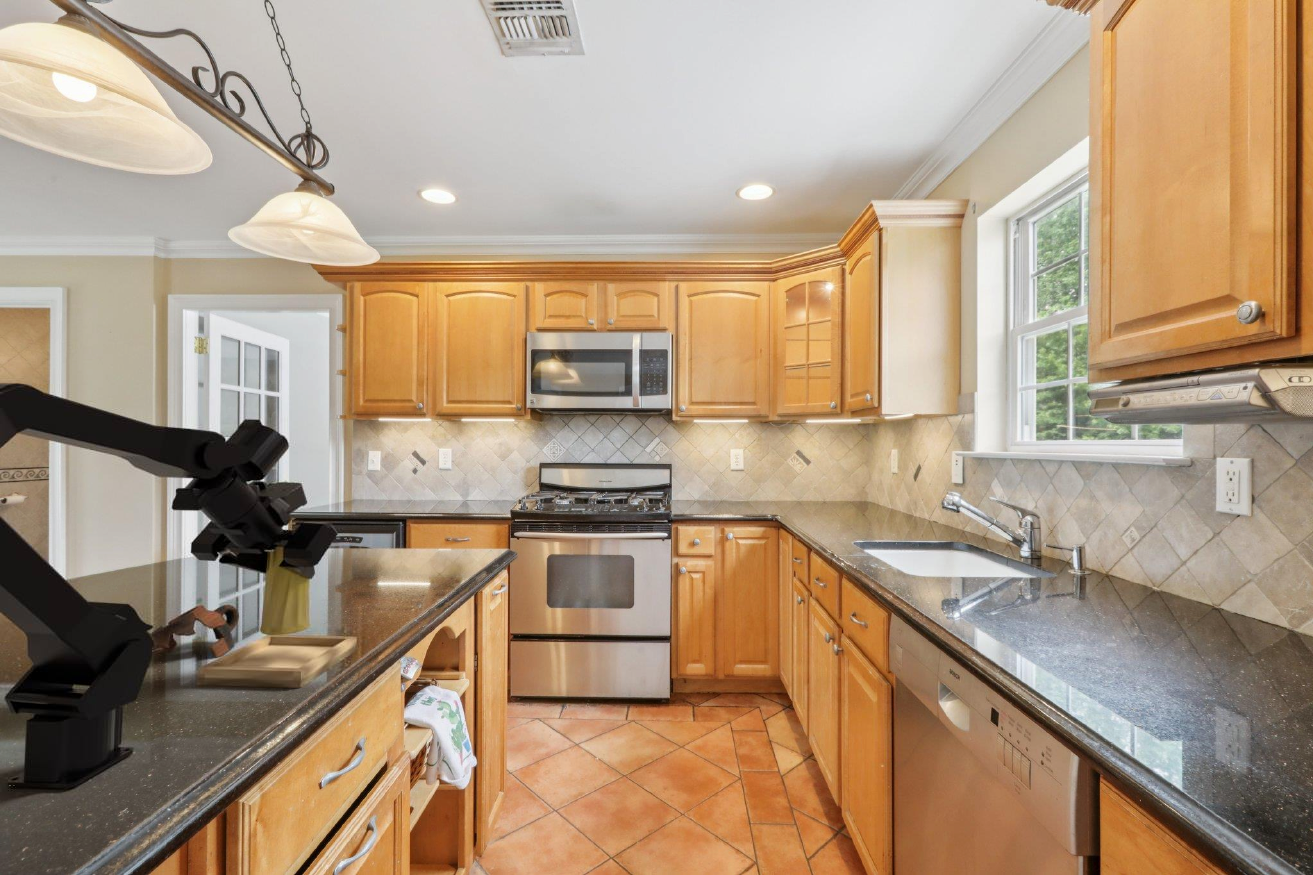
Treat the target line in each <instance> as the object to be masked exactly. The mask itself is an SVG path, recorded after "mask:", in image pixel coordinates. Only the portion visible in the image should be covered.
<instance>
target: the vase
mask: <svg viewBox="0 0 1313 875" xmlns="http://www.w3.org/2000/svg"><path fill="white" fill-rule="evenodd" d="M294 529H295V528H294ZM294 529H293V528H292V529H290V530H294ZM283 548H284V547H277V548H276V549H275V551H273V552H271V551H268V554H267V569H266V574H265V583H264V590H263V592H264V594H263V603H262V611H261V613H262V615H261V624H260V629H259V630H260V633H261V634H263V635H265V636H267V635H292V634H295V633H299V632H303V631H305V630H307V629H308V628H309V627H310V625H311V623H310V622H311V621H310V580H311V579H307V578H305V577H302V576H300V575H297V574H295V573H293V572H290V571H288V570H285V569H283V568H281V567H279V565H280V563H281V562H282V561H283Z"/></svg>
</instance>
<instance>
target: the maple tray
mask: <svg viewBox="0 0 1313 875" xmlns="http://www.w3.org/2000/svg"><path fill="white" fill-rule="evenodd" d="M357 638H358V637H357V636H345V635H344V636H343V635H342V636H341V635H340V636H339V635H337V636H336V635H333V636H332V635H306V634H301V635H299V634H285V635H265V636H263V637H261V638H259V639H257V640H253V641H252V642H251V643H248V644H246V645H244V646H242V647H240V648H237V649H236V650H233V651H231V652H229V653H227V654H224V655H222V656H220V657H219V658H216V659H214V660H213V661H211V662H208V663H206V664H205V665H202V666H200V667H198V668H197V679H196V680H197V681H196V682H197V683H196V685H197V686H219V687H220V686H223V687H254V688H255V687H256V688H257V687H258V688H259V687H261V688H265V687H267V688H295V689H296V688H298V689H300V688H302V687H305V686H306V685H308V684H309V683H310V682H311V681H313V680H314V679H316V678H318V677H319V676H321V675H322V674H323V673H325V672H327V671H329V669H331V668H333V667H334V666H335V665H338V663H340V662H341V661H344V659H346V658H348V657H349V656H351V655H352V654H354V653H355V652H356V651H357V642H358V641H357Z"/></svg>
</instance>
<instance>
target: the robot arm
mask: <svg viewBox="0 0 1313 875" xmlns="http://www.w3.org/2000/svg"><path fill="white" fill-rule="evenodd" d="M17 434H19V435H23V436H29V437H33V438H37V439H42V440H46V441H51V442H56V443H58V444H59V443H60V444H63V445H66V446H67V445H68V446H71V447H77V448H80V449H85V450H90V451H93V452H94V451H95V452H99V453H103V454H107V455H112V456H116V457H118V458H121V459H123V460H125V461H127V462H129V464H131V465H132V466H133V467H134V468H136V469H139V470H141V471H144V472H146V473H148V474H150V475H154V476H156V477H159V478H174V479H175V478H176V479H192V480H190V482H188V483H187V485H186V486H185V487H177V488H176V489H175V497H174V498H173V499H172V504H171V510H173V511H185V512H186V511H190V512H193V511H195V512H197V511H201V512H202V513H203V514H204V515H205V516H206V518H208V519H209V520H210V521H209V522H208V523H207V524H206V526H205V527H203V529H202V530H201V532H200V533H198V535H197V536H196V537H195V538H194V540H192V542H191V543H190V553H191V554H192V555H193V556H194V557H195V558H196V559H197V560H198V561H203V562H204V561H206V562H215V561H216V560H218V563H220V564H222V565H229V566H232V567H236V568H240V569H245V570H247V571H252V572H255V573H260V574H264V575H266V569H267V554H268V551H271V552H273V551H275V549H276V548H277V547H284V548H283V561H282V562H281V563H280V565H279V567H281V568H283V569H285V570H288V571H290V572H293V573H295V574H297V575H300V576H302V577H305V578H307V579H310V580H312V579H313V577H314V576H315V575H316V570H315V566H317V565H319V563H320V561H321V560H322V559H323V556H324V555H325V554H326V552H327V551H328V549H329V547H331V545H332V543H333V542H334V541H335V539H336V538H337V536H338V531H337V530H336V529H335V527H334V526H333V524H332V523H331V522H321V521H305V522H301V523H300V525H298V526H297V527H296V528H294V530H291V529H284V528H283V527H284V526H288V525H289V523H290V522H291V521H292V520H293V519H292V517H291V516H290V514H293V513H294V512H295V511H297V510H298V509H299V508H301V507H304V506H306V505H307V504H308V500H307V496H306V493H305V490H304V487H303V484H302V483H301V482H287V481H286V482H285V481H280V482H278V481H277V482H276V483H275V482H274V483H273V482H269V483H267V482H266V481H264V480H263V479H265V478H266V477H267V475H268V474H269V473H270V472H271V471H272V469H273V468H274V467H275V466H276V465H277V463H278V462H279V461H280V460H281V458H282V457H283V456H284V455H285V453H286V452H287V451H288V450H289V447H290V445H289V444H290V442H289V441H288V439H287V438H286V436H285V435H283V434H281V433H280V432H279V431H277V430H276V429H273V428H272V427H269V426H266V425H264V424H263V423H262V421H261V420H260V419H254V418H253V419H250V418H249V419H247V418H245V419H244V420H242V422H241V423H240V424H239V426H238V427H237V429H236V430H235V432H233V433H232V434H231V436H230V437H229V438H228V439H226V437H225V436H224V435H223V434H220V433H218V432H216V431H214V430H203V429H197V428H196V429H195V428H188V427H187V428H185V427H173V426H164V425H154V424H151V423H148V422H143V421H141V420H137V419H134V418H131V417H127V416H125V415H121V414H118V413H114V412H111V411H107V410H104V409H102V408H98V407H94V406H90V405H87V404H84V403H80V402H77V401H74V400H70V399H68V398H65V397H60V396H57V395H54V394H50V393H47V392H44V391H42V390H39V389H38V388H35V387H34V386H32V385H29V384H26V383H18V382H0V449H2V447H4V446H5V445H6V444H7V443H9V441H11V440H12V439H13V438H15V437H16V435H17ZM262 480H263V481H262ZM248 482H250V483H248ZM219 556H221V557H220V558H219ZM218 558H219V559H218ZM0 614H2V615H3V616H4V617H5V618H7V619H8V620H9V621H10V622H11V623H12V624H13V625H15V626H16V627H17V628H18V629H19V630H21V632H23V633H24V634H25V636H26V639H27V640H26V641H27V657H28V658H29V659H30V661H31V663H32V664H33V665H31V666H30V668H28V670H27V671H26V672H25V673H24V675H23V676H21V678H20V679H19V680H18V681H17V682H16V683H15V684H14V686H12V687H11V689H10V690H9V691H8V692H7V693H6V694H5V696H4V701H5V703H6V704H7V707H8V709H9V711H10V714H12V715H13V714H14V715H19V714H26V715H33V717H31V718H28V719H27V720H26V722H25V742H24V744H25V745H24V760H23V761H24V763H23V765H24V766H23V768H24V769H23V771H22V772H20V773H19V774H17V775H15V776H13V777H10V778H9V779H7V781H6V787H9V785H11V786H13V785H14V786H23V787H22V788H42V789H43V788H48V789H50V788H51V789H70V788H74V787H76V786H79V785H80V784H83V783H84V782H86V781H87V780H90V779H91V778H93V777H94V776H96V775H98V774H100V773H102V772H103V771H105V770H106V769H108V768H110V767H112V766H113V765H115V764H117V763H118V762H120V761H122V760H124V759H125V758H127V757H129V756H130V755H132V754H133V753H134V749H135V748H134V747H132V746H129V747H128V746H127V747H126V746H121V745H122V739H123V738H122V736H123V715H124V714H123V712H124V708H123V706H125V705H128V704H130V703H133V702H135V701H136V700H137V699H138V698H139V695H140V691H141V688H142V686H143V683H144V680H145V677H146V674H147V671H148V669H149V665H150V663H151V660H152V657H153V650H152V649H153V648H154V647H155V643H154V639H153V637H152V636H151V633H150V632H149V631H150V630H152V629H154V626H153V625H152V624H149V623H146V622H144V621H143V619H141V618H140V616H139V614H138V613H137V611H136V609H135V608H134V607H133V606H132V605H131V604H129V603H120V602H108V601H107V602H106V601H105V602H103V601H88V600H87V599H86V598H85V597H84V596H83V595H82V594H80V592H79V591H78V590H77V589H76V588H75V587H74V586H72V584H71V583H69V581H68V580H66V579H65V578H64V576H63V575H61V574H60V573H59V572H58V571H57V569H55V568H54V567H53V566H52V565H51V564H50V563H49V562H48V560H46V559H45V557H43V556H42V555H41V554H40V553H39V552H38V551H37V550H36V549H35V548H34V547H33V546H32V545H31V544H30V543H29V542H28V541H27V540H26V539H25V538H24V537H23V536H21V534H20V533H18V531H16V530H15V528H13V526H11V524H9V523H8V522H7V521H6V519H4V518H3V516H2V515H0ZM74 686H83V687H88V688H87V689H83V688H73V687H74Z"/></svg>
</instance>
